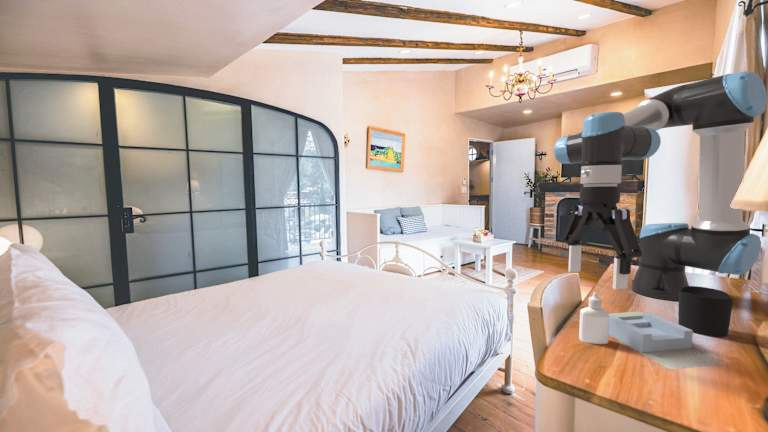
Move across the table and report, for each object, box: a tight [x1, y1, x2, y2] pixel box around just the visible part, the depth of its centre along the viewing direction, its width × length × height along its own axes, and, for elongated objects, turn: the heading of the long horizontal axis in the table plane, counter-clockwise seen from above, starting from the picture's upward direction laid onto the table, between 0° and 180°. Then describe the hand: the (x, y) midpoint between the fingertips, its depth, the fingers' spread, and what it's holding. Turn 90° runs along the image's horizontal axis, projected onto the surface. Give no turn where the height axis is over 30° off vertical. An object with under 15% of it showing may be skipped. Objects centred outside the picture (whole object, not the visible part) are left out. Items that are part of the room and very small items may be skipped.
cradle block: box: [609, 312, 694, 353], centre depth 75 cm, size 12×10×4 cm
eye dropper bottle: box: [578, 291, 610, 345], centre depth 75 cm, size 4×6×12 cm
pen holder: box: [677, 285, 734, 338], centre depth 80 cm, size 9×9×10 cm
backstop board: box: [608, 311, 724, 370], centre depth 74 cm, size 13×20×4 cm, turn 7°
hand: (595, 279), depth 74 cm, fingers open, 13 cm apart
